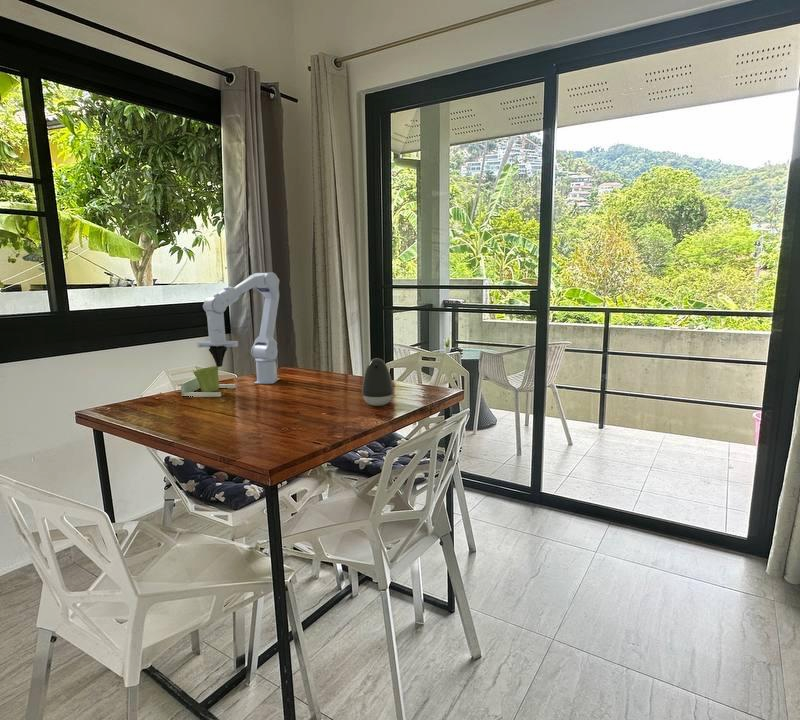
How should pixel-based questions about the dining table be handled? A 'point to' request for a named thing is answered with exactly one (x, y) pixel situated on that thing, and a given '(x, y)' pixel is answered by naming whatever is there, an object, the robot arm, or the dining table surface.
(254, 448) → the dining table surface
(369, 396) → the dark grey egg shape
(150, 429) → the dining table surface
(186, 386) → the display bay
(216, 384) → the plant pot
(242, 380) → the dining table surface
